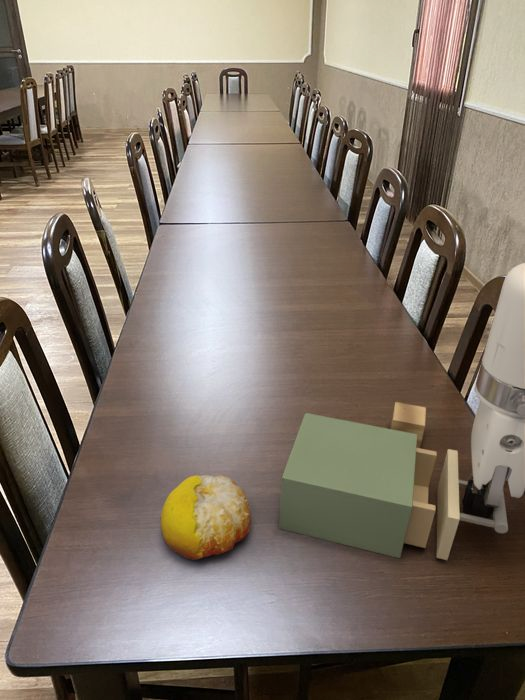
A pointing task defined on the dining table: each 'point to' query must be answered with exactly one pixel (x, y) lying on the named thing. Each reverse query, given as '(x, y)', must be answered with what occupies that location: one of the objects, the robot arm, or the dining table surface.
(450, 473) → the drawer
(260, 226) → the dining table surface
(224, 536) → the fruit
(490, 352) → the robot arm
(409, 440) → the cabinet
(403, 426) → the block
